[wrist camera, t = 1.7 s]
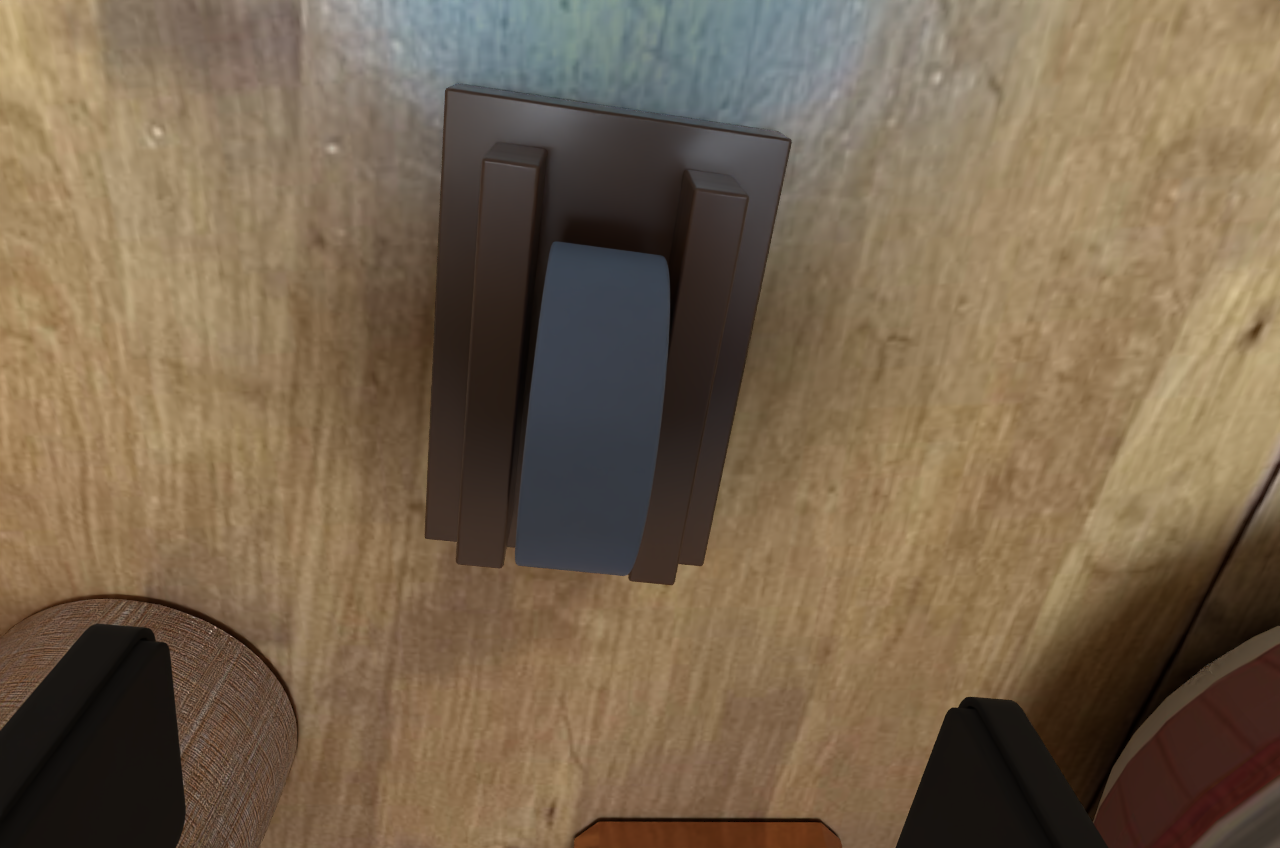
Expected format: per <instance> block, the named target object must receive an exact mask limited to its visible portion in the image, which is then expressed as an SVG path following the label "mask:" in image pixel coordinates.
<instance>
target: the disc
mask: <svg viewBox="0 0 1280 848" xmlns="http://www.w3.org/2000/svg"><path fill="white" fill-rule="evenodd" d="M669 325H670V279H669V269H668V265H667V261H666V259H665V257H663V256H662V255H654V254H647V253H639V252H632V251H624V250H617V249H609V248H602V247H595V246H587V245H580V244H572V243H565V242H557V241H556V242H553V243H552V245H551V248H550V253H549V258H548V264H547V270H546V276H545V283H544V289H543V296H542V303H541V311H540V318H539V326H538V333H537V341H536V349H535V357H534V365H533V373H532V382H531V390H530V399H529V408H528V417H527V425H526V435H525V444H524V454H523V463H522V473H521V483H520V494H519V505H518V516H517V529H516V544H515V561H516V564H517V565H519V566H528V567H538V568H549V569H559V570H569V571H579V572H590V573H600V574H610V575H620V576H625V575H628V574H629V573H630V572H631V570H632V568H633V566H634V563H635V561H636V558H637V555H638V552H639V548H640V544H641V540H642V536H643V532H644V527H645V523H646V518H647V513H648V508H649V502H650V496H651V491H652V485H653V478H654V472H655V466H656V459H657V451H658V444H659V437H660V428H661V420H662V412H663V402H664V393H665V382H666V371H667V358H668V344H669Z"/></svg>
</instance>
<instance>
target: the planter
mask: <svg viewBox="0 0 1280 848" xmlns="http://www.w3.org/2000/svg"><path fill="white" fill-rule="evenodd" d="M94 624H109V625H121V626H133V627H145V628H149V629H151V630H152V631H153V633H154V635H155V639H156V642H164V643H167V645H168V646H169V650H170V657H171V667H172V677H173V687H174V697H175V706H176V716H177V726H178V736H179V746H180V756H181V766H182V775H183V785H184V795H185V805H186V816H185V823H184V827H183V831H182V834H181V837H180V840H179V842H178V844H177V846H176V848H260V845H261V843H262V841H263V838H264V836H265V833H266V831H267V829H268V826H269V824H270V821H271V819H272V817H273V814H274V812H275V809H276V807H277V805H278V802H279V800H280V797H281V795H282V792H283V789H284V786H285V784H286V781H287V778H288V775H289V772H290V769H291V766H292V763H293V760H294V757H295V753H296V747H297V727H296V720H295V716H294V712H293V709H292V706H291V704H290V701H289V699H288V697H287V695H286V693H285V691H284V689H283V687H282V685H281V684H280V682H279V681H278V680H277V678H276V677H275V675H274V674H273V673H272V672H271V670H270V669H269V668H268V667H267V666H266V665H265V664H264V663H263V661H262V660H261V659H260V658H259V657H258V656H256V655H255V654H254V653H253V652H252V651H251V650H250V649H249V648H247V647H246V646H245V645H243V644H242V643H241V642H239V641H238V640H237V639H235V638H234V637H232V636H231V635H229V634H227V633H226V632H224V631H223V630H221V629H219V628H217V627H216V626H214V625H212V624H210V623H208V622H206V621H203V620H201V619H199V618H197V617H194V616H192V615H189V614H186V613H184V612H181V611H178V610H175V609H172V608H168V607H164V606H161V605H156V604H151V603H146V602H139V601H131V600H121V599H94V600H85V601H77V602H71V603H66V604H62V605H58V606H55V607H52V608H49V609H46V610H43V611H41V612H39V613H36V614H34V615H32V616H30V617H28V618H27V619H25V620H23V621H22V622H20V623H19V624H17V625H16V626H14V627H13V628H12V629H11V630H10V631H8V632H7V633H6V634H5V635H4V636H3V637H2V638H1V639H0V730H1V729H2V728H3V727H4V725H5V724H6V723H7V722H8V721H9V720H10V718H11V717H12V716H13V715H14V714H15V713H16V711H17V710H18V709H19V708H20V707H21V706H22V704H23V703H24V702H25V701H26V700H27V698H28V697H29V696H30V695H31V694H32V693H33V691H34V690H35V689H36V688H37V687H38V686H39V684H40V683H41V682H42V681H43V680H44V678H45V677H46V676H47V675H48V674H49V673H50V671H51V670H52V669H53V668H54V667H55V666H56V664H57V663H58V662H59V661H60V660H61V658H62V657H63V656H64V655H65V654H66V653H67V651H68V650H69V649H70V648H71V647H72V646H73V644H74V643H75V642H76V641H77V640H78V639H79V637H80V636H81V635H82V634H83V633H84V632H85V631H86V630H87V629H88V628H89V627H90V626H92V625H94Z"/></svg>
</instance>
